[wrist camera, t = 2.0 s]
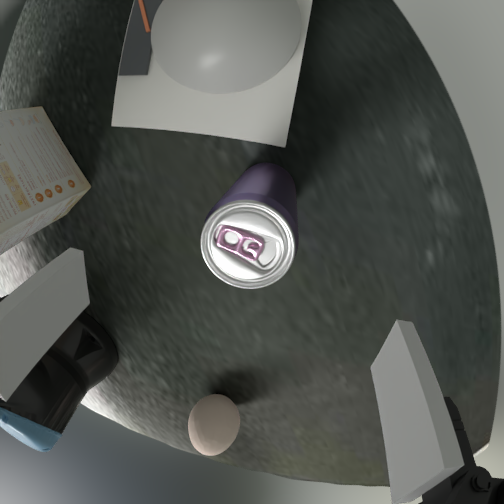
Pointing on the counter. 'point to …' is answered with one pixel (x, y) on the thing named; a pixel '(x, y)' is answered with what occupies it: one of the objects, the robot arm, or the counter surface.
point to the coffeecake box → (34, 175)
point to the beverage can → (253, 228)
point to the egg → (213, 424)
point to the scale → (212, 67)
